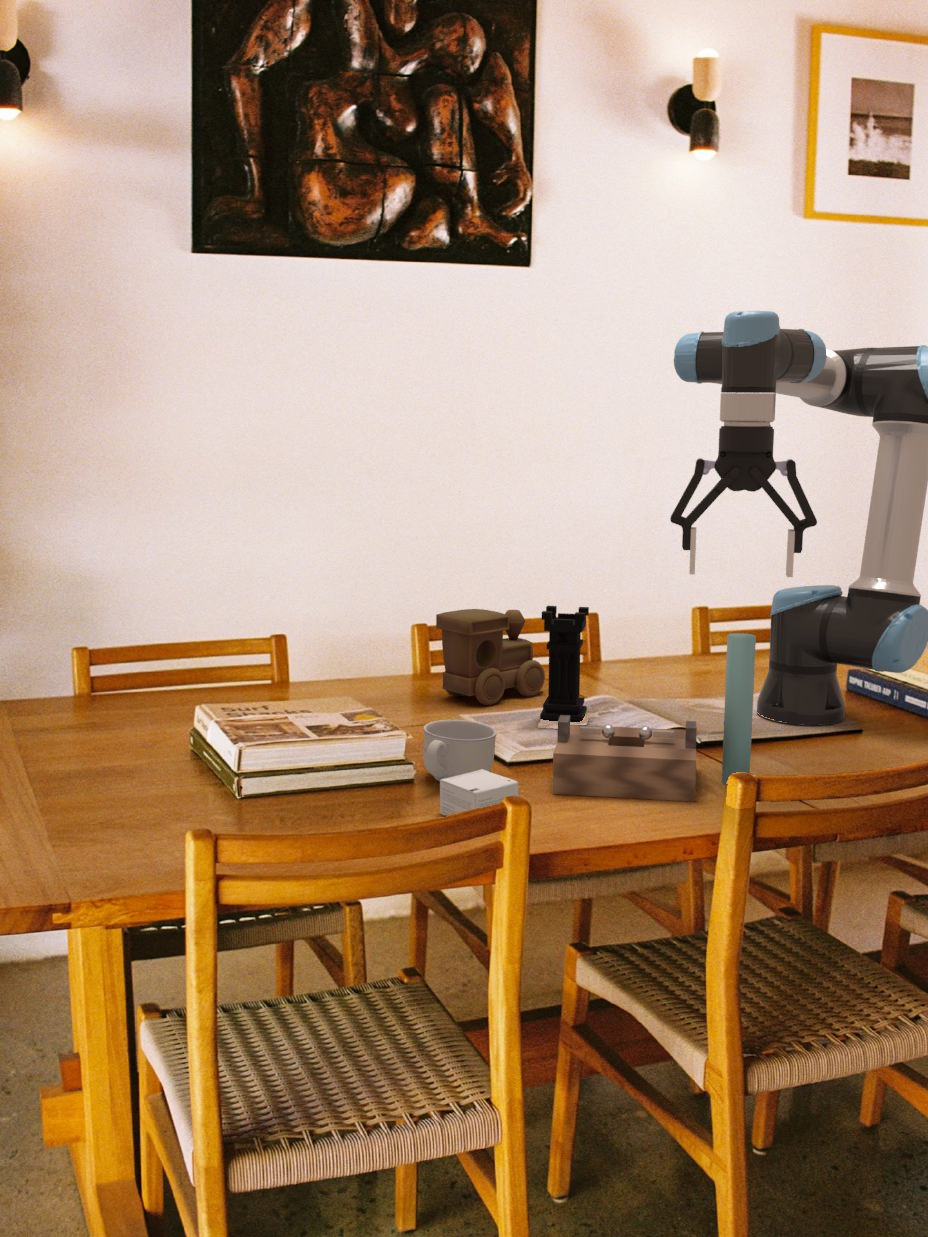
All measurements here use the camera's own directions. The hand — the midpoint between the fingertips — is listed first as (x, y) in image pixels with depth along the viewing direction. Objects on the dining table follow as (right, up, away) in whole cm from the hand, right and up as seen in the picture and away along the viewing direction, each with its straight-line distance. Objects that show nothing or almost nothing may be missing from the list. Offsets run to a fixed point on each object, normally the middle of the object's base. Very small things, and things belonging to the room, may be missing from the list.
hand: (740, 574), depth 179 cm
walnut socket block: (-16, -30, +6) cm, 35 cm away
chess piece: (-22, -25, +38) cm, 50 cm away
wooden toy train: (-34, -21, +57) cm, 70 cm away
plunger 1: (-20, -24, +5) cm, 31 cm away
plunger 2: (-11, -24, +4) cm, 27 cm away
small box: (-37, -33, -9) cm, 51 cm away
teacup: (-41, -31, +5) cm, 51 cm away
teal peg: (0, -30, +5) cm, 31 cm away
